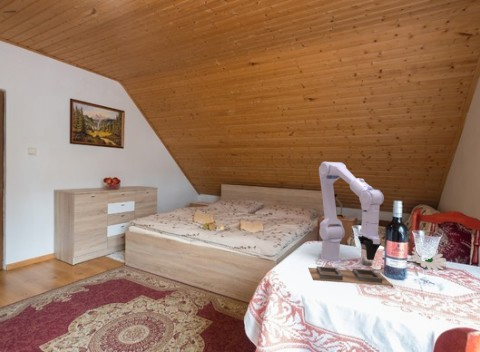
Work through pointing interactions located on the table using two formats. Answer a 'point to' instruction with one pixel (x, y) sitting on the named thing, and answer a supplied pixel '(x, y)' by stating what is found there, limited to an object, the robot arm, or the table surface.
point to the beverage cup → (378, 258)
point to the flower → (430, 261)
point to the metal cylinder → (365, 257)
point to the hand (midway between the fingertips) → (367, 257)
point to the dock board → (348, 276)
